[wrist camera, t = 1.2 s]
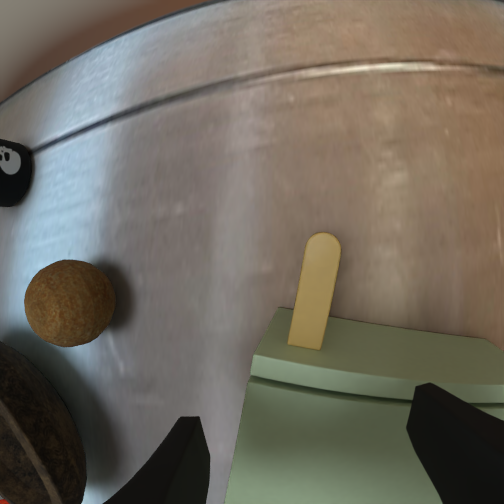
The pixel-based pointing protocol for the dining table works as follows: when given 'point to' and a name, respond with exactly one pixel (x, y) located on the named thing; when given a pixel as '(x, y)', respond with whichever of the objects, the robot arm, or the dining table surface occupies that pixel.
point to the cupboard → (327, 448)
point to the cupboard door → (368, 346)
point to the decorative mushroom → (3, 501)
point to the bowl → (36, 438)
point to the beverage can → (13, 172)
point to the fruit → (69, 303)
